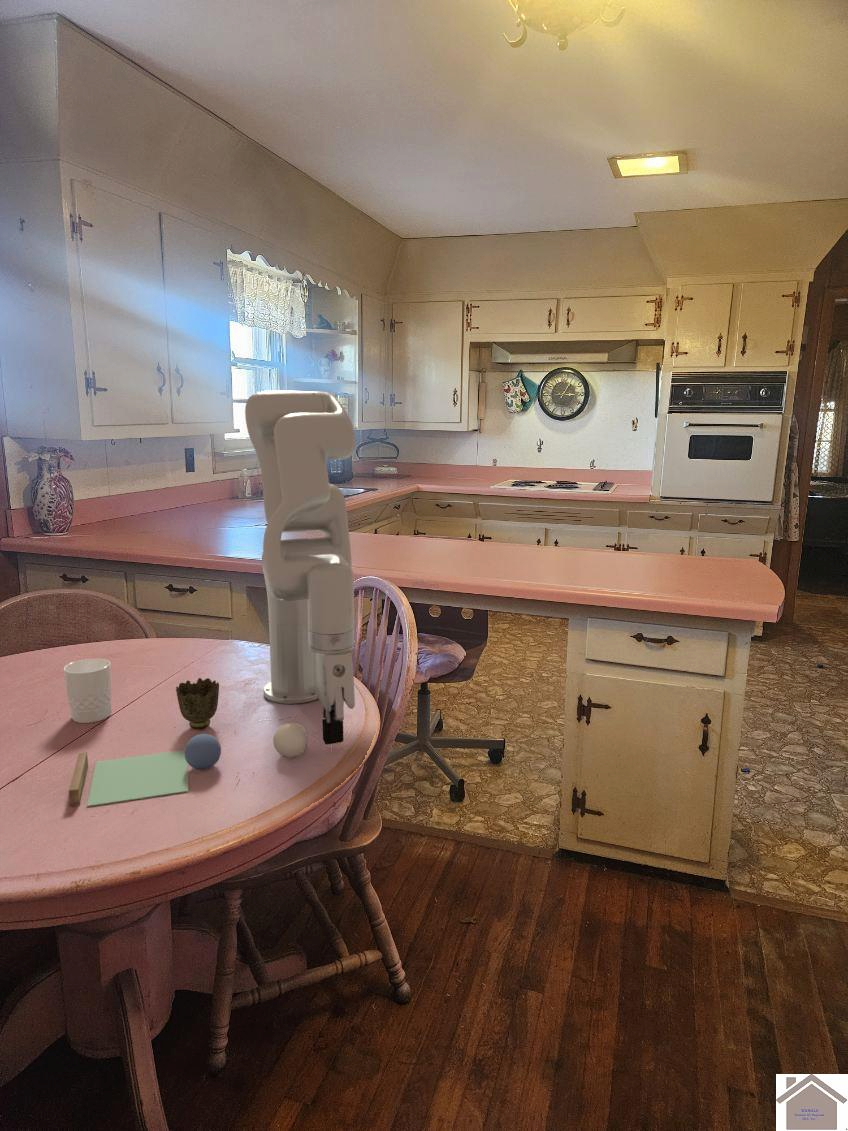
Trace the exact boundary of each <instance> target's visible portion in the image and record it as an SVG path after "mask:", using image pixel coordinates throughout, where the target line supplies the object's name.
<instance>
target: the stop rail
mask: <svg viewBox="0 0 848 1131" xmlns="http://www.w3.org/2000/svg"><path fill="white" fill-rule="evenodd" d="M88 770H89V758H88V752H80V753H78V754H77V758H76V762H75V766H74V770H73V774H72V777H71V781H70V786H69V789H68V794H69V804H70V807H74V806H80V804H81V800H82V796H83V792H84V787H85V783H86V779H87V775H88Z"/></svg>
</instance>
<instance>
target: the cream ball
mask: <svg viewBox="0 0 848 1131" xmlns="http://www.w3.org/2000/svg"><path fill="white" fill-rule="evenodd" d="M272 743H273V747H274V749H275V751H276V752H277V753H278V754H279V755H280V756H283V757H285V758H294V757H297V756H300V755H301V753H303V752H304V750H305V749H306V747H307V745H308V734H307V732H306V730H305V728H304V727H303V726H301V725H300V724H299V723H296V722H288V723H284V724H282V725H281V726H279V727H278V728H277V729H276V731H275V733H274V735H273V740H272Z"/></svg>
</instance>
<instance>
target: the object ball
mask: <svg viewBox="0 0 848 1131" xmlns="http://www.w3.org/2000/svg"><path fill="white" fill-rule="evenodd" d="M184 750H185V759H186V761H187V765H189V767H191V768H192V769H194V770H199V771H203V770H208V769H210V768H212V767H214V766H215V765H216V764H217V763H218V761H219V760H220V757H221V755H222V754H221V753H222V752H221V751H222V747H221V744H220V742H219V740H218V739H217V737H215V736H214V735H211V734H208V733H200V734H199V733H198V734H197V735H195V736H193V737H192V738H191V739H190V740H188V742H187V743H186V745H185V747H184Z"/></svg>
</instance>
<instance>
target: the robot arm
mask: <svg viewBox="0 0 848 1131" xmlns="http://www.w3.org/2000/svg"><path fill="white" fill-rule="evenodd" d="M244 409H245V410H244V414H245V415H244V416H245V424H246V429H247V433H248V435H249V440H250V441H251V444H252V447H253V449H254V451H255V453H256V456H257V458H258V461H259V466H260V475H261V476H260V477H261V485H262V486H261V487H262V497H263V506H264V507H263V508H264V513H265V514H264V515H265V521H266V523H267V525H266V528H265V530H264V533H263V534H264V536H263V542H262V555H261V567H262V571H263V577H264V582H265V589H266V594H267V595H266V596H267V607H268V608H267V609H268V610H267V611H268V626H269V627H268V630H269V634H268V635H269V654H270V655H269V657H270V658H269V659H270V678H271V679H270V681H269V682H268V683H266V684H265V685H264V687H263V696H264V697H265V699H267V700H269V701H271V702H274V703H278V704H279V703H280V704H285V705H286V704H287V705H289V704H291V705H292V704H293V705H294V704H303V703H308V702H312V701H315V700H317V699H318V700H319V701H320V703H321V710H322V711H321V712H322V719H321V720H322V724H321V725H322V740H323V743H324V744H325V745H333V744H339V743H343V742H344V720H345V715H344V714H345V713H344V703H345V704H346V705H347V708H348V709H350V710H351V709H352V710H353V709H354V708H355V706H356V698H355V696H356V694H355V680H354V679H355V678H354V664H353V658H352V652H351V651H352V650H354V649H355V593H354V592H355V582H354V580H355V579H354V578H355V576H354V571H353V568H352V566H353V565H352V561H353V560H352V550H351V541H350V540H351V539H350V530H349V521H348V519H349V517H348V510H347V502H346V500H345V496H344V493H343V491H342V490H341V488H339V486H337V485H335V484H332V483H330V479H329V473H328V467H327V460H329V461H330V460H331V461H332V460H335V461H336V460H347V459H349V458H351V457H352V455H353V454H354V451H355V448H356V434H355V433H356V432H355V429H354V424H353V422H352V420H351V418H350V415H349V414H348V412H347V411H346V409H345V407H344V406H343V405H342V404H341V402H340V401H339V399H338V398H337V397H336V396H335V395H334V394H333V393H331V392H326V391H320V390H319V391H318V390H317V391H316V390H315V391H310V390H307V391H306V390H305V391H304V390H280V389H279V390H278V389H277V390H264V391H259V392H255V393H253V394H251V395H250V396H249V397H248V398H247V400H246V403H245V408H244ZM305 532H308V533H309V532H321V534H322V535H323V537H311V538H310V537H309V538H308V537H306V538H291V539H282V534H283V533H305Z"/></svg>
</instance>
